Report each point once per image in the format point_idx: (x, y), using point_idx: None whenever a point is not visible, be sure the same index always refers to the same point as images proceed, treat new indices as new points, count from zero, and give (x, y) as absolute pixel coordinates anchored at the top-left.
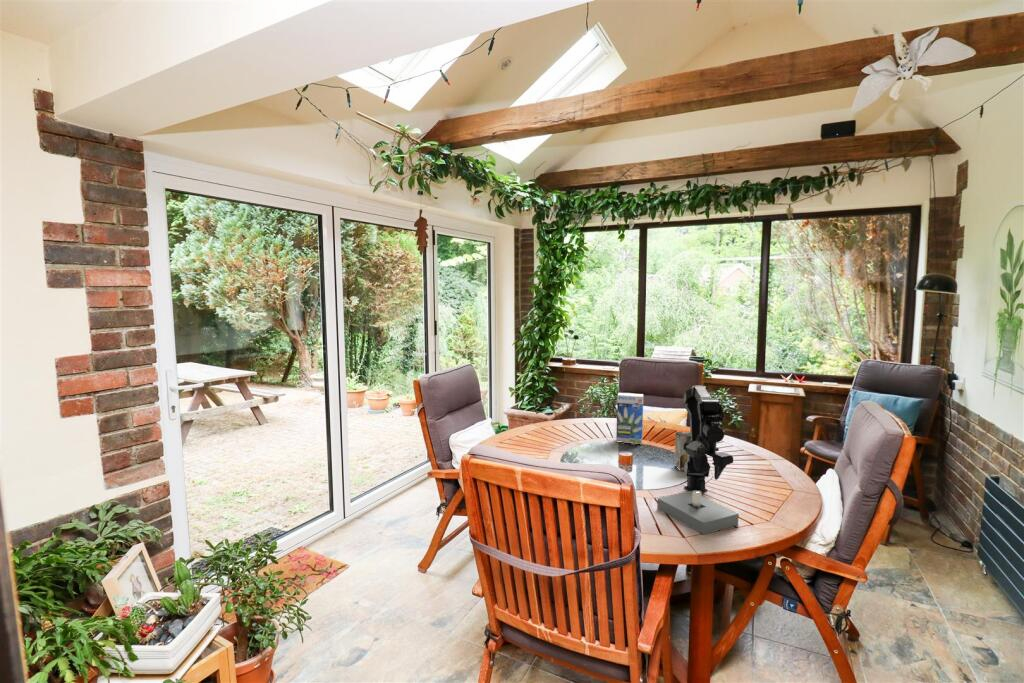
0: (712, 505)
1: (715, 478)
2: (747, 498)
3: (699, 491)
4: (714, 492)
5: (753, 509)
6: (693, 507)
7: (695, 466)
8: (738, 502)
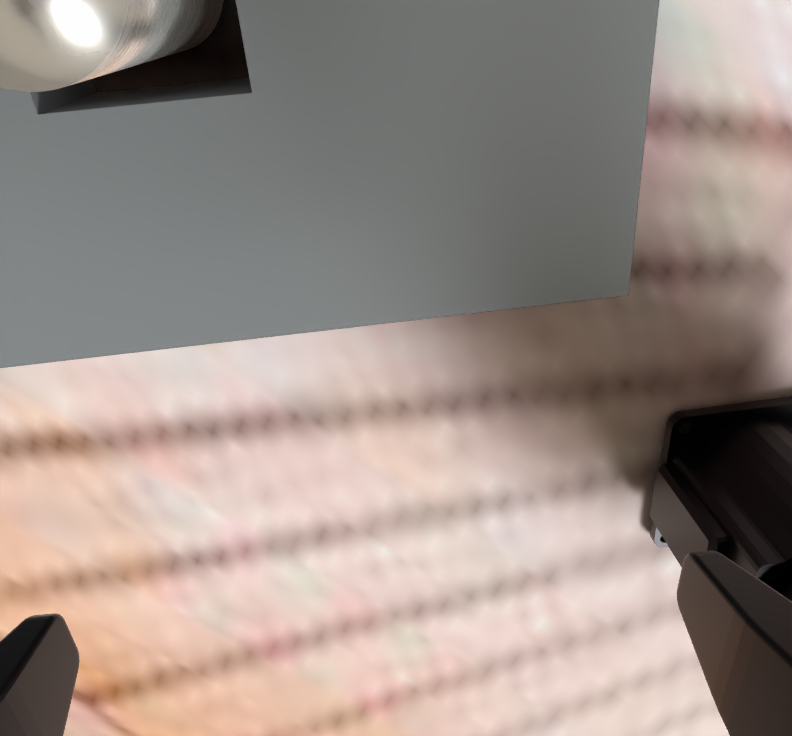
0: (75, 245)
1: (8, 639)
2: (386, 696)
3: (26, 59)
4: (596, 567)
5: (190, 630)
6: None
7: (774, 629)
8: (348, 611)
